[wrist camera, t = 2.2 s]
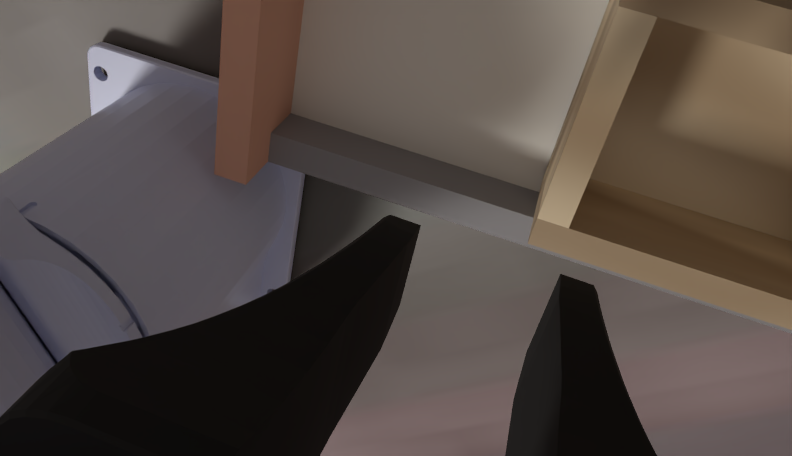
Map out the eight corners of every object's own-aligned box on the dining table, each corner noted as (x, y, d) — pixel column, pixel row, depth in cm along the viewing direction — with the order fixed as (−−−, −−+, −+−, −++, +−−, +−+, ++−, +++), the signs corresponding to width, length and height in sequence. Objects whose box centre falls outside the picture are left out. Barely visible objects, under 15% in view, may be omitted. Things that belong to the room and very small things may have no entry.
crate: (817, 266, 20) (847, 348, 17) (542, 179, 21) (527, 243, 18) (984, 27, 16) (1060, 84, 13) (634, -67, 17) (633, -34, 14)
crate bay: (850, 304, 21) (888, 399, 18) (271, 119, 24) (214, 174, 20) (1105, -27, 16) (1227, 27, 12) (307, -231, 18) (235, -231, 15)
